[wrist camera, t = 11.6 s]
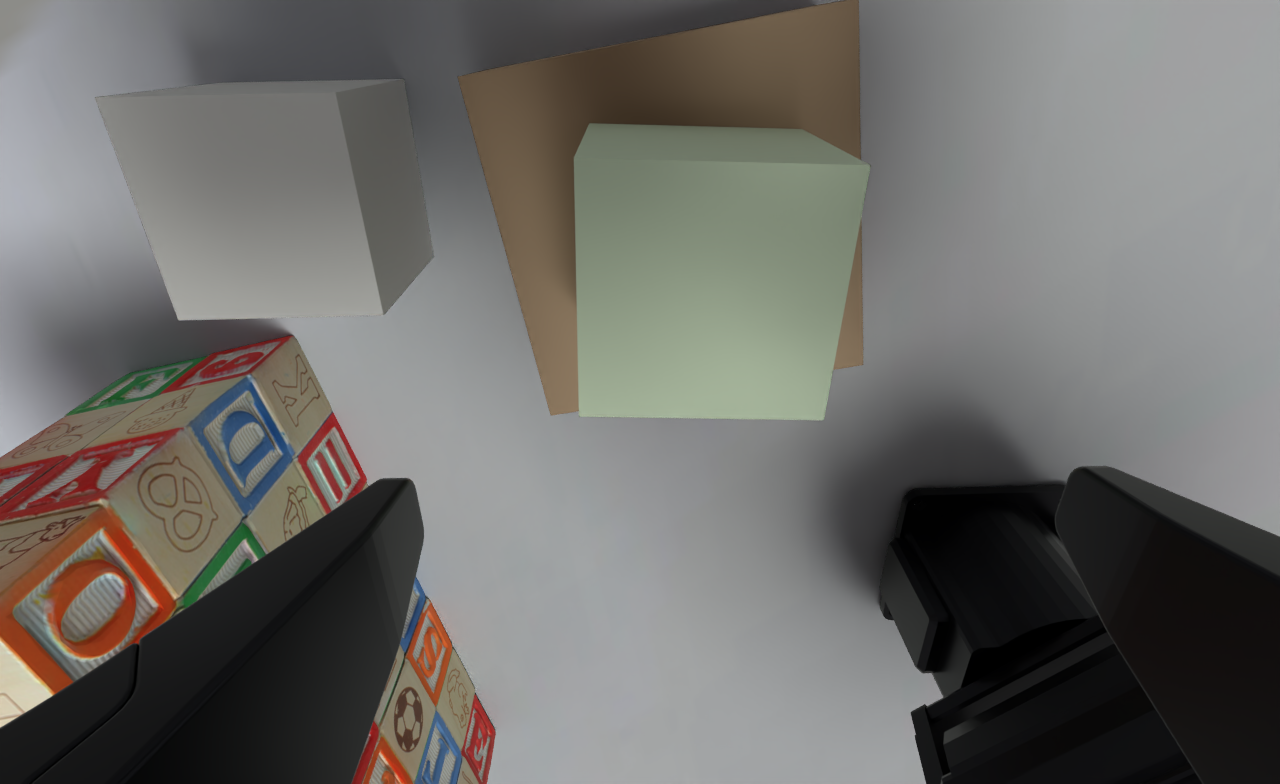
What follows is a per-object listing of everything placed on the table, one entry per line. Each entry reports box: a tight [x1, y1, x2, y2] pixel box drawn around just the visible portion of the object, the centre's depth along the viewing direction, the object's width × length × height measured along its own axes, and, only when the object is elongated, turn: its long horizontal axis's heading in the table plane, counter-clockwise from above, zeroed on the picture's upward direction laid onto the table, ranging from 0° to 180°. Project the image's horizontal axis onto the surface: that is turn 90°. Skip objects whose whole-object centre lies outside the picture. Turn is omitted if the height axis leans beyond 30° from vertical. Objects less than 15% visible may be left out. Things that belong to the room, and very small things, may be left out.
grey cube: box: [95, 79, 434, 320], centre depth 17 cm, size 5×5×5 cm
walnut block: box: [458, 0, 863, 415], centre depth 18 cm, size 9×9×4 cm
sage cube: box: [574, 123, 871, 420], centre depth 14 cm, size 5×5×5 cm
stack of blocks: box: [0, 336, 496, 784], centre depth 22 cm, size 21×6×12 cm, turn 13°
